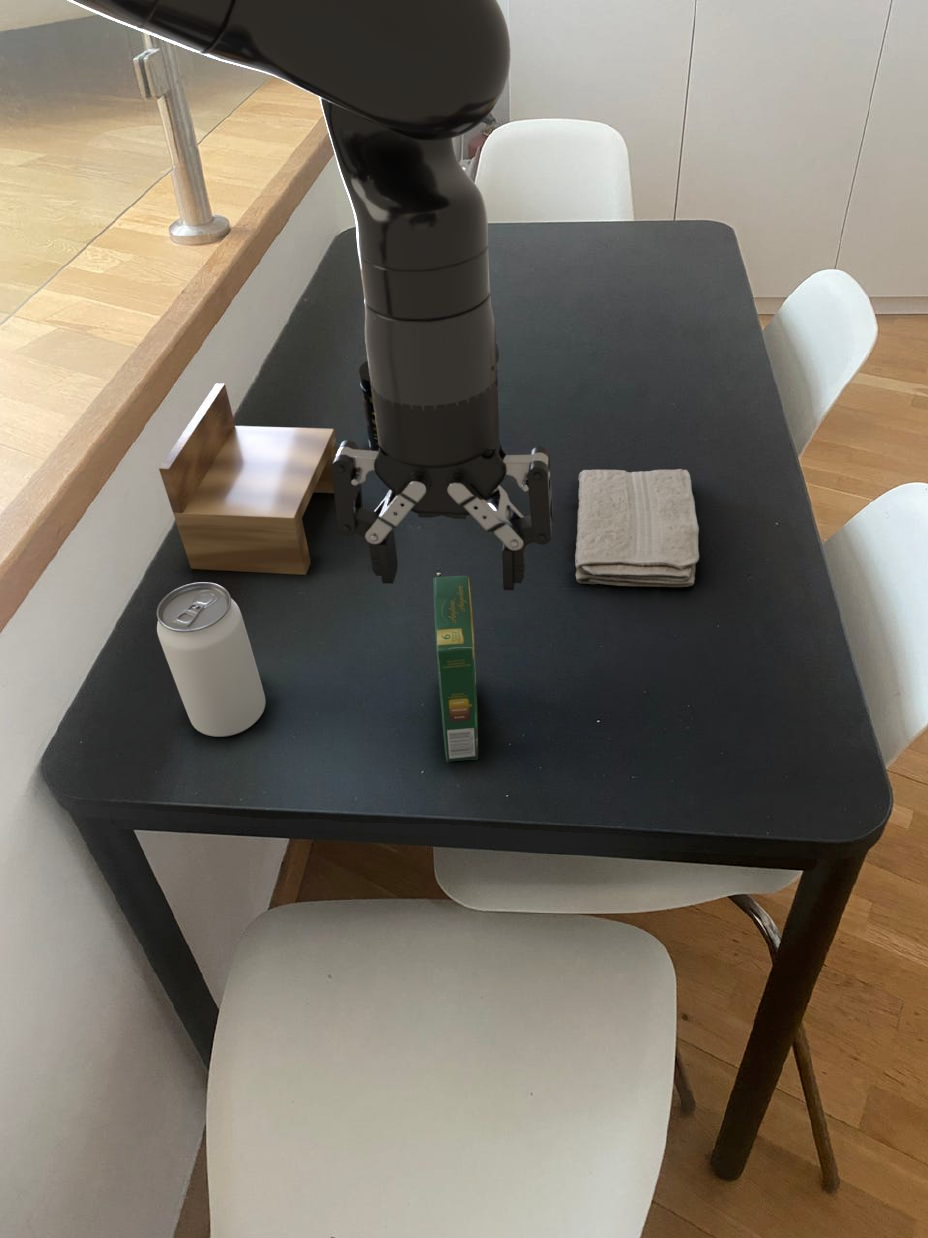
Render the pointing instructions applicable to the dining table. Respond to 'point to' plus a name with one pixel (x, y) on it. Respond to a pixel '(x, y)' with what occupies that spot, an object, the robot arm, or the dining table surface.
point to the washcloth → (636, 528)
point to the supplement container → (368, 407)
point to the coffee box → (456, 666)
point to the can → (210, 659)
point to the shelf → (245, 489)
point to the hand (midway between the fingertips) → (450, 579)
